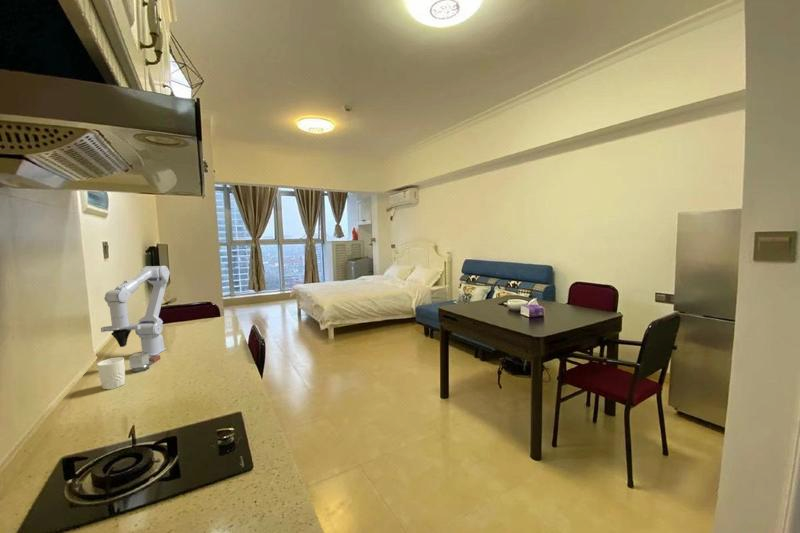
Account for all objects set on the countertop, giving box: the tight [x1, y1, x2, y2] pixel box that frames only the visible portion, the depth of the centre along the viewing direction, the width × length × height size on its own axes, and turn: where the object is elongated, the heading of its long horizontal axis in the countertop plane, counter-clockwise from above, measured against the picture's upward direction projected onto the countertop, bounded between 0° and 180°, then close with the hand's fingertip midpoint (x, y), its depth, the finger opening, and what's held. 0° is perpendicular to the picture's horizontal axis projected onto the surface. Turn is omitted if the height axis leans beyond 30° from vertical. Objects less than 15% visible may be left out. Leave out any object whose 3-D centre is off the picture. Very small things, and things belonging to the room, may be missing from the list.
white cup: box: [96, 357, 126, 390], centre depth 127 cm, size 8×8×10 cm
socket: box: [128, 352, 150, 369], centre depth 142 cm, size 5×5×5 cm
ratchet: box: [130, 354, 161, 374], centre depth 147 cm, size 15×6×4 cm, turn 9°
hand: (123, 346), depth 146 cm, fingers closed
